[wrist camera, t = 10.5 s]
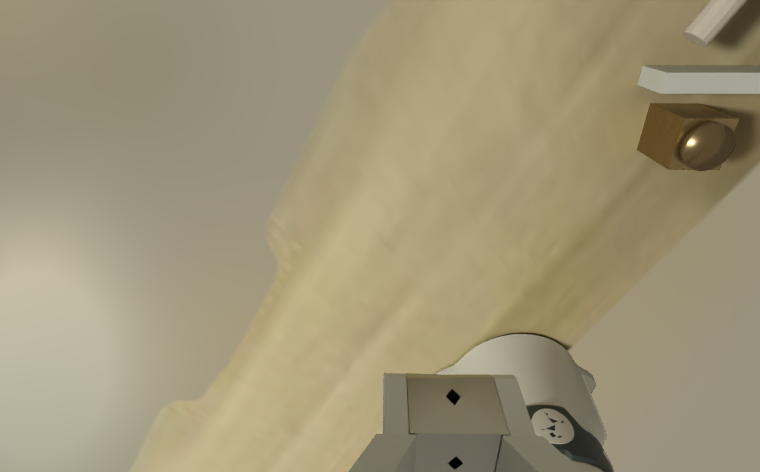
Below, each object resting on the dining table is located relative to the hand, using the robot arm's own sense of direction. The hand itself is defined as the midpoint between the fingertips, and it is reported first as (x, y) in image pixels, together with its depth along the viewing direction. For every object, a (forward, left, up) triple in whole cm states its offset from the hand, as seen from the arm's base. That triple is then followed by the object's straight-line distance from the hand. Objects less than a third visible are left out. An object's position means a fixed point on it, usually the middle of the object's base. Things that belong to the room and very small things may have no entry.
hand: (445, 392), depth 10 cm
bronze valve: (-2, -23, -31) cm, 39 cm away
